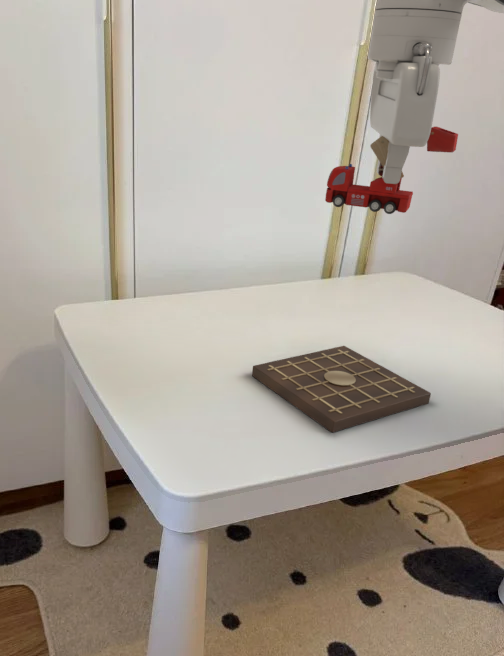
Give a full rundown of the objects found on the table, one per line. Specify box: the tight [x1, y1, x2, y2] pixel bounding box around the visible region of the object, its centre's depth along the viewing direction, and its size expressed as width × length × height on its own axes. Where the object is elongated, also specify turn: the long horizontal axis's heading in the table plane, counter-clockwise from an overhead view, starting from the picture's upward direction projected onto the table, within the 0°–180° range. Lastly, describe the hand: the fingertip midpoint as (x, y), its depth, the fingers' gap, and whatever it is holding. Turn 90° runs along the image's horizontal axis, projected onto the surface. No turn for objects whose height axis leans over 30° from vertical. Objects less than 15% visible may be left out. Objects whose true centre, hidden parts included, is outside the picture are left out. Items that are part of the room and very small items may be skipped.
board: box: [251, 345, 432, 433], centre depth 81 cm, size 16×16×2 cm
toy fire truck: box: [324, 126, 459, 215], centre depth 74 cm, size 3×14×10 cm, turn 65°
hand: (387, 179), depth 74 cm, fingers closed on toy fire truck, 4 cm apart
